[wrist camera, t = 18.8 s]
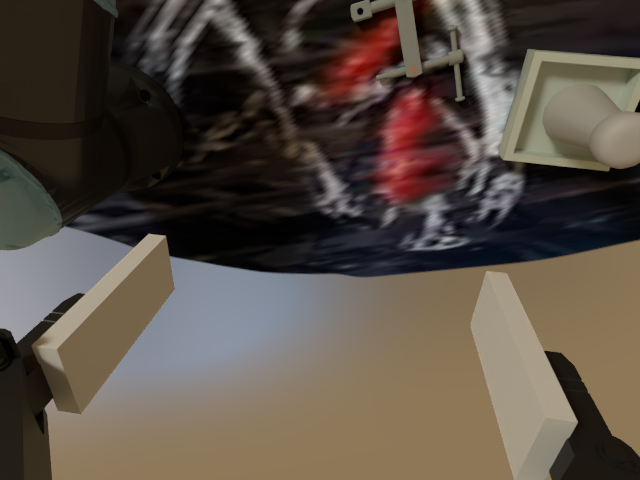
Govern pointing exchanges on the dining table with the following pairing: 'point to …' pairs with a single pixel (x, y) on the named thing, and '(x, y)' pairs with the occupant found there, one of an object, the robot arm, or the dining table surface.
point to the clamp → (411, 41)
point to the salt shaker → (594, 125)
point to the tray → (545, 82)
